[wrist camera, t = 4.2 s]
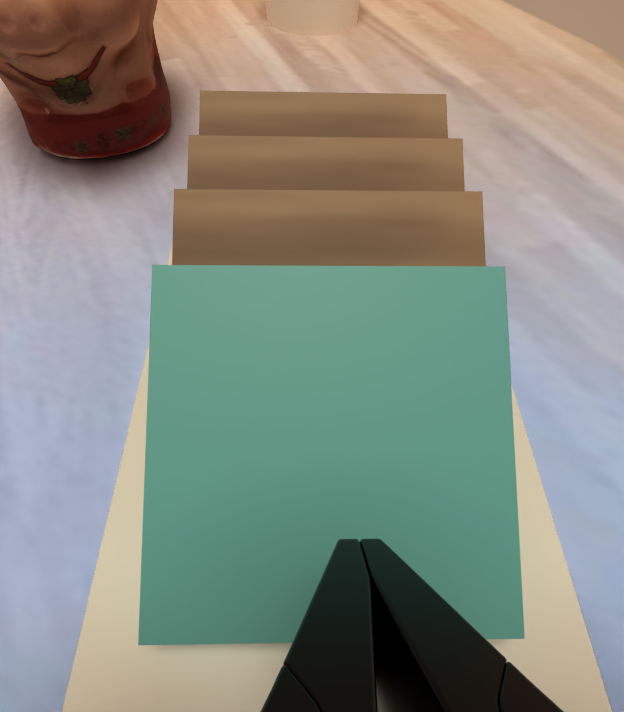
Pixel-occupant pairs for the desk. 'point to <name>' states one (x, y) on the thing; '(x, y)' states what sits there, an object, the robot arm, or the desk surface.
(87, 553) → the desk surface
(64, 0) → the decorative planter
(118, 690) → the board
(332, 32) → the base with upright slab
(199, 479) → the domino
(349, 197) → the domino
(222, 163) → the brown flat square block
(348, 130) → the domino
